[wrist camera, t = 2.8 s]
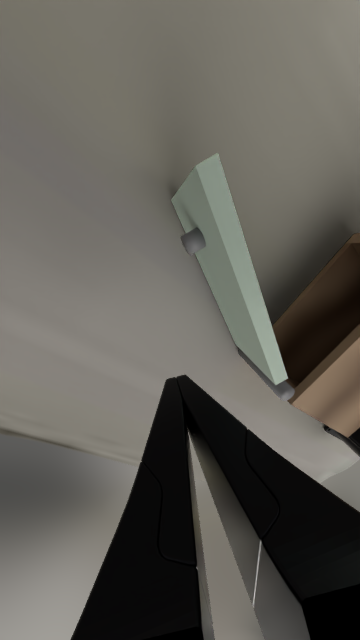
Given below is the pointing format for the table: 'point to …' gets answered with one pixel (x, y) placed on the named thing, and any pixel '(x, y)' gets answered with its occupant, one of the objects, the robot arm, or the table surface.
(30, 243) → the table surface
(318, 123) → the table surface
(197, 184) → the door
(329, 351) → the cabinet
